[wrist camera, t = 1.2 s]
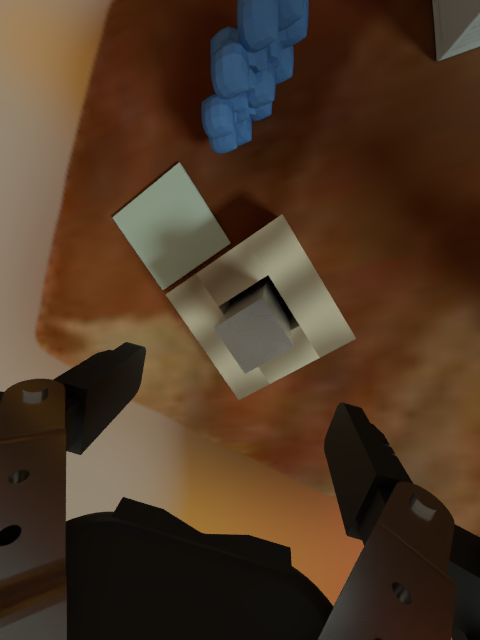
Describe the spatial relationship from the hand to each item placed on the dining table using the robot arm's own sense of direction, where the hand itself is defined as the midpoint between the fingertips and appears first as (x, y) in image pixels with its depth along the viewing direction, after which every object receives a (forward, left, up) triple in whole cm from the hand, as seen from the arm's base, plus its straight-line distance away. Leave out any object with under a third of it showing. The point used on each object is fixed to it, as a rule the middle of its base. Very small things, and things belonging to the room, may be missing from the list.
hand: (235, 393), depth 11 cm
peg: (-1, +1, -22) cm, 22 cm away
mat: (+12, +5, -22) cm, 26 cm away
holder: (-1, +1, -22) cm, 22 cm away
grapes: (+17, -9, -23) cm, 30 cm away
